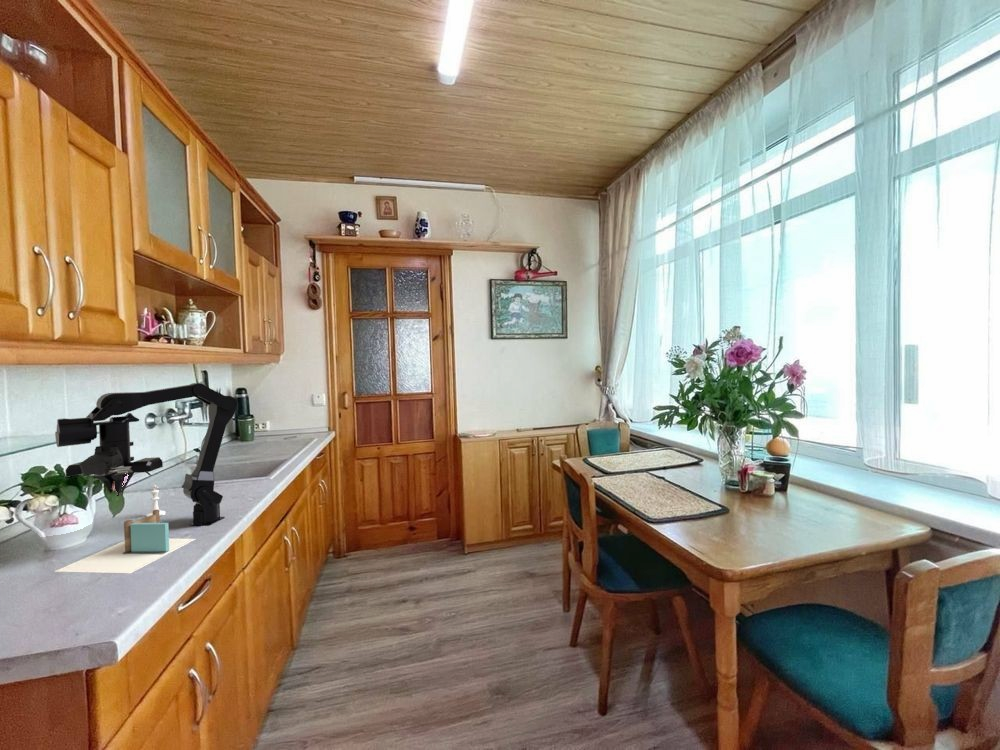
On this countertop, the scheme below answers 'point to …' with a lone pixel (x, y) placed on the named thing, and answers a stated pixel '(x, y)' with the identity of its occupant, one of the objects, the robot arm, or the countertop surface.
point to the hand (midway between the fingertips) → (117, 498)
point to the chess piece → (155, 502)
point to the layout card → (120, 559)
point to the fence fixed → (150, 519)
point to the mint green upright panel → (149, 537)
